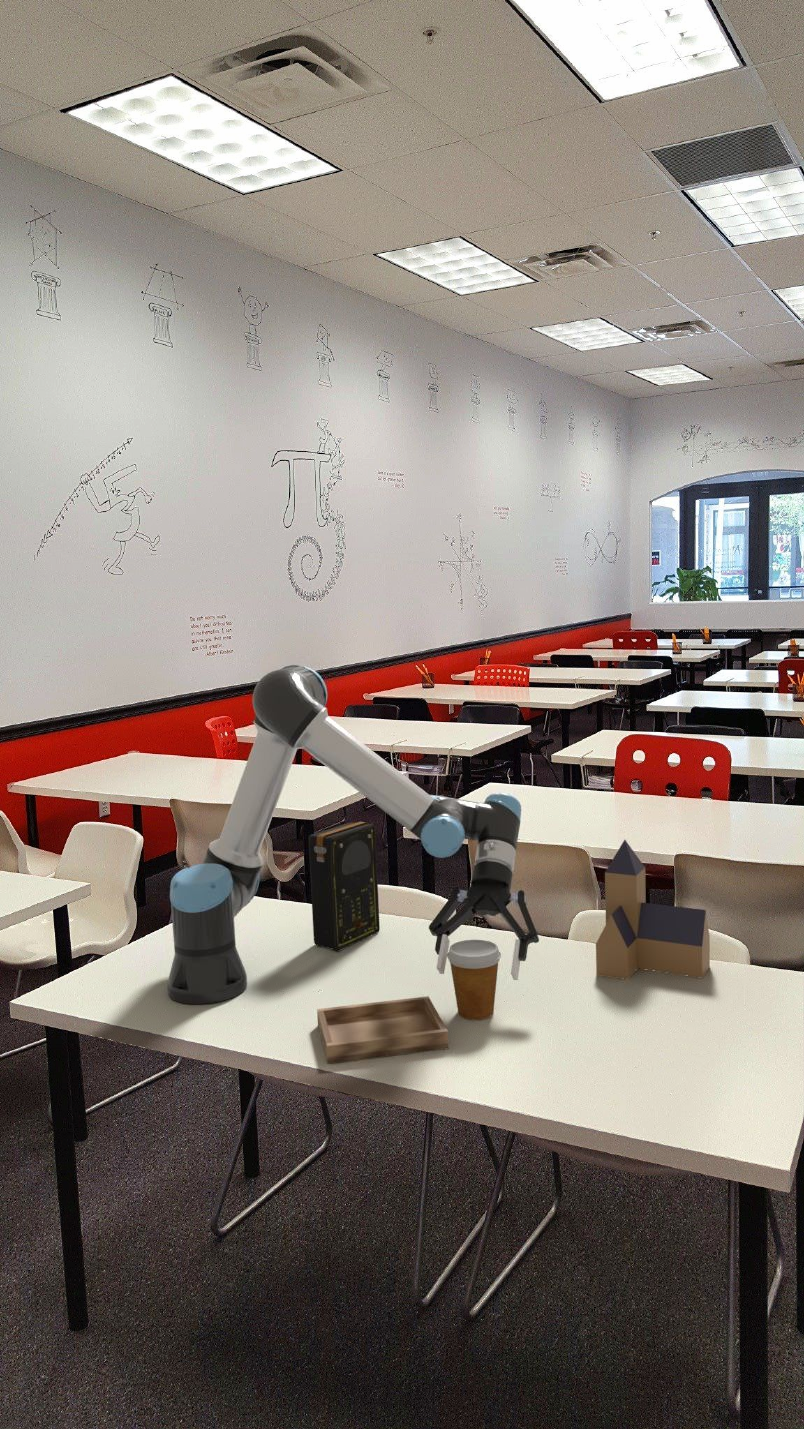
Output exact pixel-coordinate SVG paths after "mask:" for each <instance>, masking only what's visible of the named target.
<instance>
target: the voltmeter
mask: <svg viewBox="0 0 804 1429" xmlns="http://www.w3.org/2000/svg"><path fill="white" fill-rule="evenodd" d="M308 854H309V873H310V891H311V892H310V893H311V894H310V895H311V896H310V897H311V907H312V908H311V911H312V912H311V914H312V931H313V932H312V933H313V943H314V945H315V946H317V947H323V948H325V949H331V950H332V951H333V952H337V953H338V952H340V951H341V949H342V950H344V949H346V948H348V947H350V946H353V945H354V943H355V944H356V942H357V943H359V942H362V941H363V940H366V939H368V938H370V937H372V936H374V935H376V934H378V933H379V932H380V927H381V926H380V909H379V908H380V907H379V906H380V905H379V904H380V903H379V884H378V863H377V862H378V861H377V859H378V858H377V856H378V855H377V837H376V826H375V824H374V823H368V822H364V821H358V822H352V821H351V822H348V823H345V824H341V825H338V826H335V827H332V828H329V829H326V830H322V831H319V832H316V833H313V834H310V835H309V836H308ZM371 935H372V936H371ZM369 936H370V937H369ZM358 941H359V942H358ZM352 944H353V945H352ZM343 948H344V949H343ZM339 950H340V951H339Z"/></svg>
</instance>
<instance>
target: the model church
mask: <svg viewBox="0 0 804 1429" xmlns="http://www.w3.org/2000/svg"><path fill="white" fill-rule="evenodd" d="M604 883H605V884H604V892H605V893H604V894H605V896H604V897H605V898H604V900H605V902H604V903H605V926H604V927H603V929H602V932H601V933H600V935H599V937H598V939H597V941H596V943H595V963H596V964H595V967H596V968H595V970H596V972H595V973H596V976H601V975H602V977H608V978H614V977H617V978H616V979H620V978H624V979H623V980H627V979H628V980H630V978H632V976H633V974H635V972H636V971H637V970H638V969H637V968H640V969H639V970H644V969H647V970H646V971H651V970H655V971H654V972H657V971H660V972H659V973H664V972H668V973H667V974H671V973H672V975H678V974H679V976H684V975H688V976H687V977H691V976H692V977H693V978H698V977H701V978H700V979H703V978H704V977H705V975H706V973H707V972H708V971H709V969H710V968H711V966H710V963H711V962H710V958H711V956H710V950H711V949H710V947H711V944H710V943H711V942H710V930H709V923H708V916H707V915H708V914H707V909H699V908H693V907H685V906H684V907H683V906H674V905H668V904H666V905H665V904H659V903H658V904H656V903H650V902H649V903H648V902H646V901H647V900H646V866H645V865H644V864H643V862H642V861H641V860H640V858H639V857H638V856H637V854H636V853H635V851H634V850H633V848H632V847H631V846H630V844H629V843H628V841H627V840H626V839H624V840H623V841H622V843H621V845H620V847H619V848H618V850H616V854H615V855H614V856H613V858H612V860H611V862H610V863H609V865H608V867H607V868H606V870H605V871H604ZM708 968H709V969H708ZM636 969H637V970H636ZM635 970H636V971H635ZM706 971H707V972H706ZM631 975H632V976H631ZM629 977H630V978H629ZM702 977H703V978H702Z"/></svg>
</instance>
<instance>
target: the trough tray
mask: <svg viewBox="0 0 804 1429" xmlns="http://www.w3.org/2000/svg"><path fill="white" fill-rule="evenodd" d="M316 1014H317V1028H318V1031H319V1035H320V1039H321V1042H322V1047H323V1050H324V1053H325V1054H324V1055H325V1058H326V1062H327V1065H329V1064H336V1063H345V1062H352V1061H360V1060H368V1059H376V1058H384V1057H391V1056H394V1057H395V1056H402V1055H409V1054H416V1053H424V1052H431V1051H440V1050H448V1049H449V1047H450V1046H449V1030H448V1029H447V1027H446V1025H445V1024H444V1022H443V1020H442V1018H441V1017H440V1016H441V1015H440V1014H439V1013H438V1011H437V1009H436V1007H435V1005H434V1003H433V1002H432V1000H431V998H430V997H429V995H427V996H418V997H410V998H402V999H393V1000H392V999H391V1000H384V1001H376V1002H369V1003H367V1002H366V1003H358V1004H349V1005H342V1006H341V1005H339V1006H333V1007H323V1008H317V1009H316Z"/></svg>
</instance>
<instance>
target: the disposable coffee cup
mask: <svg viewBox="0 0 804 1429" xmlns="http://www.w3.org/2000/svg"><path fill="white" fill-rule="evenodd" d="M501 957H502V954H501V951H500V950H499V946H498V945H497V944H496V943H495V942H492V941H490V940H484V939H466V940H460V941H457V942H455V943H453V944H451V945H449V948H448V954H447V959H448V961H449V963H450V970H451V975H452V983H453V988H454V994H455V1000H456V1007H457V1013H458V1015H459V1016H460V1017H461V1018H463V1019H467V1020H473V1021H478V1020H480V1021H481V1020H485V1019H488V1018H490V1017H492V1016H493V1015H494V1011H495V1010H494V1009H495V1001H496V990H497V989H496V988H497V981H498V970H499V962H500V959H501Z"/></svg>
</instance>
